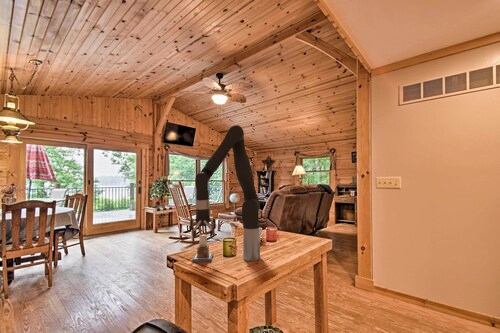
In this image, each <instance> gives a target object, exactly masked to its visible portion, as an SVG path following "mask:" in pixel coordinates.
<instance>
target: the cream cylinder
mask: <svg viewBox="0 0 500 333" xmlns="http://www.w3.org/2000/svg"><path fill="white" fill-rule="evenodd" d="M207 239H208V236H207V234H199V243H198V246H199V247H206V246H207V245H208V240H207Z"/></svg>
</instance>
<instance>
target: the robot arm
mask: <svg viewBox="0 0 500 333" xmlns="http://www.w3.org/2000/svg"><path fill="white" fill-rule="evenodd" d="M244 137H245V132H244V129H243V128H242V126H240V125H237V124H234V125H232V126H230V127H229V128H228V131H227V132H226V134H225V137H224V138H223V139H222V141H221V143H220V144H219V146H218V147H217V149H216V150H215V151H214V152H213V153H212V155H211V156H210V158H209V159H208V160H207V161H206V162H205V163H204V164H205V165H204V167H203V168H202V169H201V170H200V172H198V173H197V174H196V175H195V179H194V181H195V183H194V184H195V190H196V191H195V192H196V194H195V218H190V219H189V230H190V231H192V234H193V235H192V236H193V237H194V238H195V239H196V238H197V229H198V227H207V228H208V229H209V237H210V238H211V237H213V235H214V230H215V229H216V228H217V222H216V220H217V219H216V217H212V218H211V216H210V215H211V214H210V213H211V212H210V211H211V208H210V205H211V204H210V192H209V181H210V180H211V178H212V177H213V175H214V174H215V173H216V171H217V170H218V169H219V168H220V166H221V165H222V163H223V162H224V160H225V159H226V157H227V155H228V154H229V152H230V151H231V150H232V153H233V163H234V164H233V165H234V171H235V176H236V178H237V181H238V183H239V185H240V186H239V187H240V188H241V190H242V193H243V200H244V202H243V203H242V204H241V221H242V222H241V223H242V244H243V245H242V246H243V247H242V253H243V254H242V257H243V260H245V261H248V262H256V261H260V260H261V242H260V228H261V226H260V224H261V223H260V220H259V219H260V218H259V216H260V215H259V212H260V208H261V203H260V201H259V197H258V194H257V192H256V187H255V180H254V176H253V175H254V173H253V169H252V164H251V161H250V159H249V156H248V153H247V150H246V145H245V138H244ZM210 222H211V223H212V224H211V223H210ZM194 223H196V225H195V226H194Z"/></svg>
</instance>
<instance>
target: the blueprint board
mask: <svg viewBox="0 0 500 333" xmlns="http://www.w3.org/2000/svg"><path fill="white" fill-rule="evenodd" d="M213 257H214V252H209V255H208V258H197V253H196V252H195V254H194V255H193V256H192V260H191V263H211V262H212V260H213Z"/></svg>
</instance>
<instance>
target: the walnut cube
mask: <svg viewBox="0 0 500 333" xmlns="http://www.w3.org/2000/svg"><path fill="white" fill-rule="evenodd" d="M209 247H210V244H207V246H206V247H199V245H197V248H196V250H197V251H196V252H197V258H208V255H209V253H210V251H209V250H210V248H209Z"/></svg>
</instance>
